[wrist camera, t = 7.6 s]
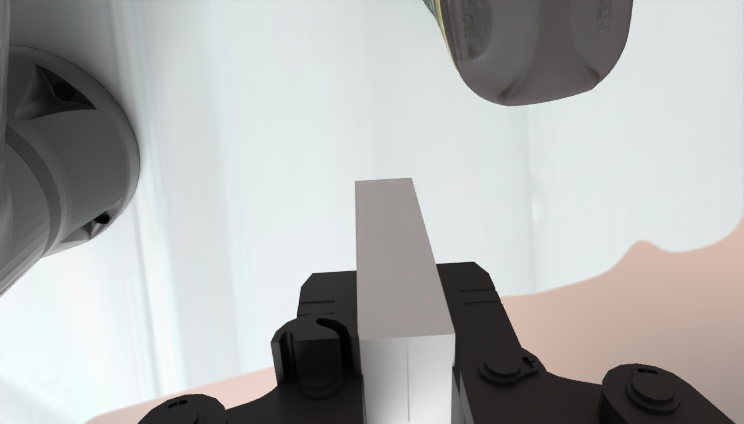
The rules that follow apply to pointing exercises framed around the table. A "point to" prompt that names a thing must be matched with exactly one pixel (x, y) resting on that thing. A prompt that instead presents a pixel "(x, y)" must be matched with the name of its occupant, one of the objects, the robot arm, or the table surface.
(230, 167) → the table surface
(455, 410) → the robot arm
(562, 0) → the coffee jar
